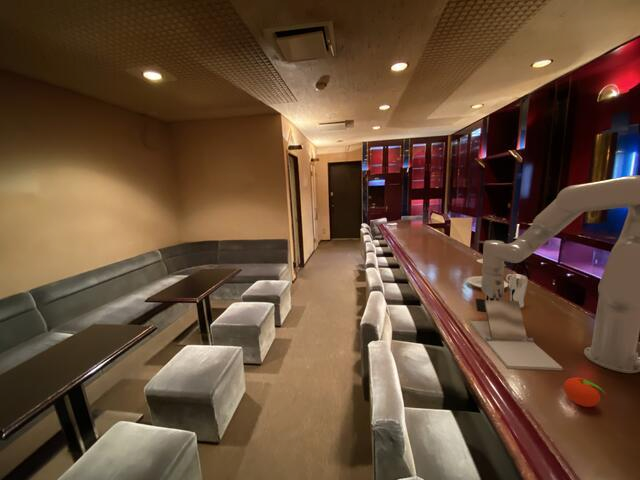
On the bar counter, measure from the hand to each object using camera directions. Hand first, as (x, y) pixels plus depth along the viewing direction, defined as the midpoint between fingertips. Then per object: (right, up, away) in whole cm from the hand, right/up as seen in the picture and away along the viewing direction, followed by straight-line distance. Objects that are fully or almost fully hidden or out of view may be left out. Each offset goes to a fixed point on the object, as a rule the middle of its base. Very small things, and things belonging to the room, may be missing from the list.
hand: (490, 310), depth 113 cm
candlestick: (+27, +3, +41) cm, 49 cm away
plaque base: (-2, -9, -14) cm, 16 cm away
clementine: (-2, -14, -42) cm, 44 cm away
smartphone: (+9, -3, +18) cm, 20 cm away
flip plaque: (-2, 0, -11) cm, 11 cm away
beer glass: (+24, -2, +16) cm, 29 cm away
